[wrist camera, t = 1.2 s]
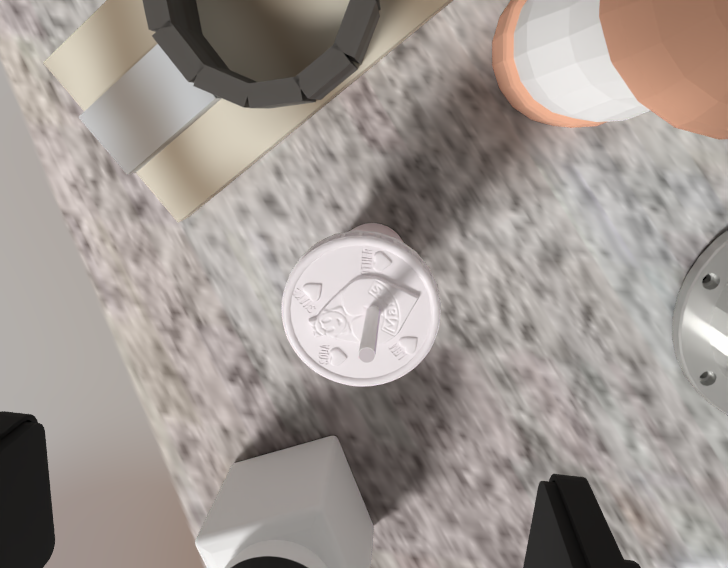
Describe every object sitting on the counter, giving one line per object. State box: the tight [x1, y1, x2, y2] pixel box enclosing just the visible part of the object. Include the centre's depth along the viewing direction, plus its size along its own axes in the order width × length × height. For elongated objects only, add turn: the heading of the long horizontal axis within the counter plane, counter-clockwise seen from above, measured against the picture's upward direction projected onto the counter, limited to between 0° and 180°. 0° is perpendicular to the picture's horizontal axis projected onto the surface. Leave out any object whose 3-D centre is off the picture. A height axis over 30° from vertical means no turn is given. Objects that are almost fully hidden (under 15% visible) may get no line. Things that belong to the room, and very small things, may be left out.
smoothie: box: [282, 223, 441, 386], centre depth 26 cm, size 6×6×14 cm
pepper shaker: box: [492, 0, 728, 139], centre depth 20 cm, size 7×7×19 cm
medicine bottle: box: [195, 436, 374, 568], centre depth 31 cm, size 7×7×12 cm
